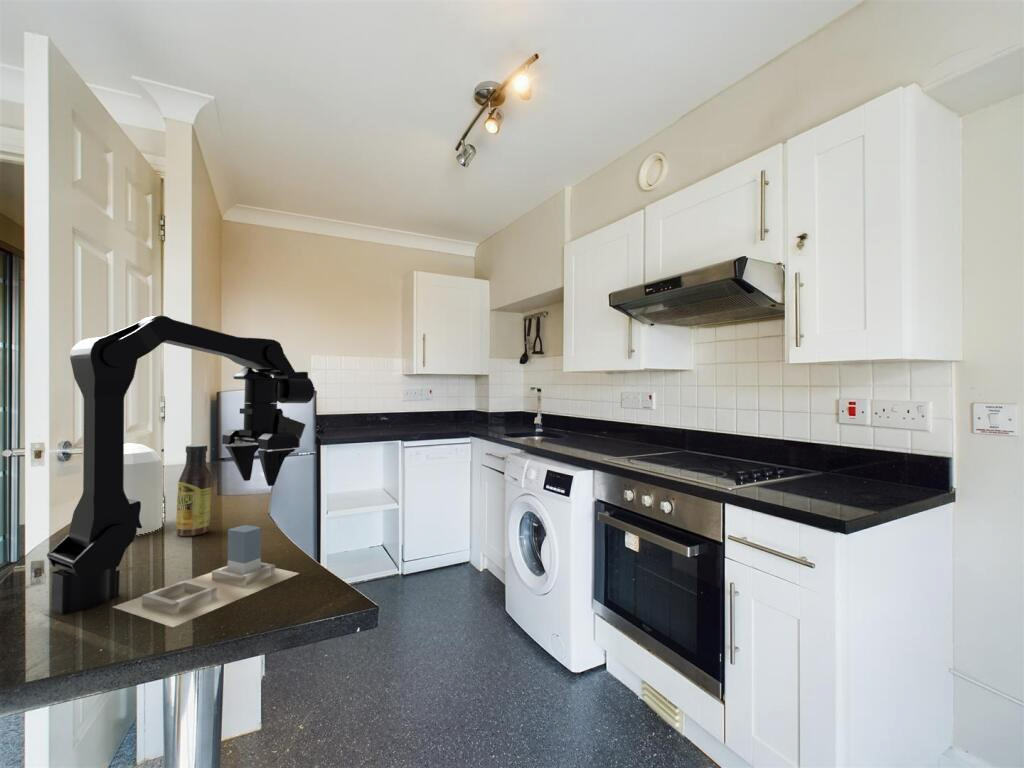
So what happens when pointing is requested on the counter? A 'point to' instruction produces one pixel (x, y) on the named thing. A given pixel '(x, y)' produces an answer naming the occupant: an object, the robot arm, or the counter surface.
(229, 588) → the socket dock
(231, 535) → the plug
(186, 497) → the sauce bottle
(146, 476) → the container
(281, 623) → the counter surface
